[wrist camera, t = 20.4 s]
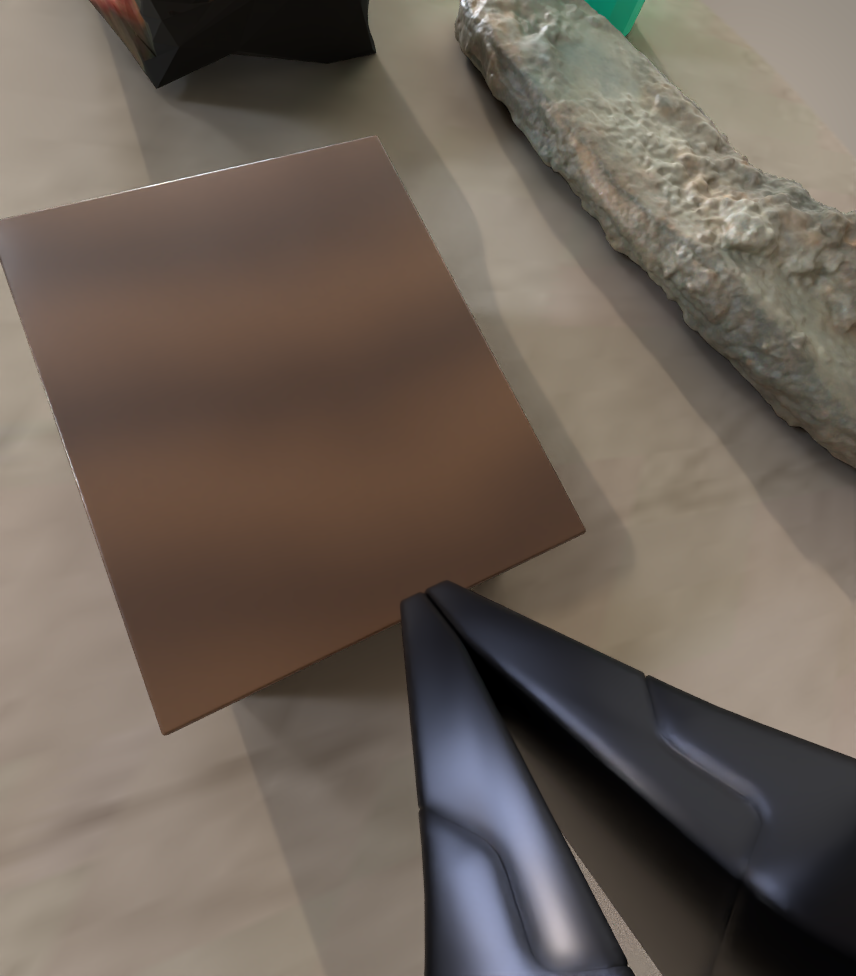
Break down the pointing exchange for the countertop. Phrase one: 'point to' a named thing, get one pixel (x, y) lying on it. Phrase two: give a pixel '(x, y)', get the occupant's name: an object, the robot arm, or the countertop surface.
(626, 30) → the candle
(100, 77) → the countertop surface
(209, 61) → the baking dish
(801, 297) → the elongated rock
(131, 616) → the chest lid
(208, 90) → the countertop surface
